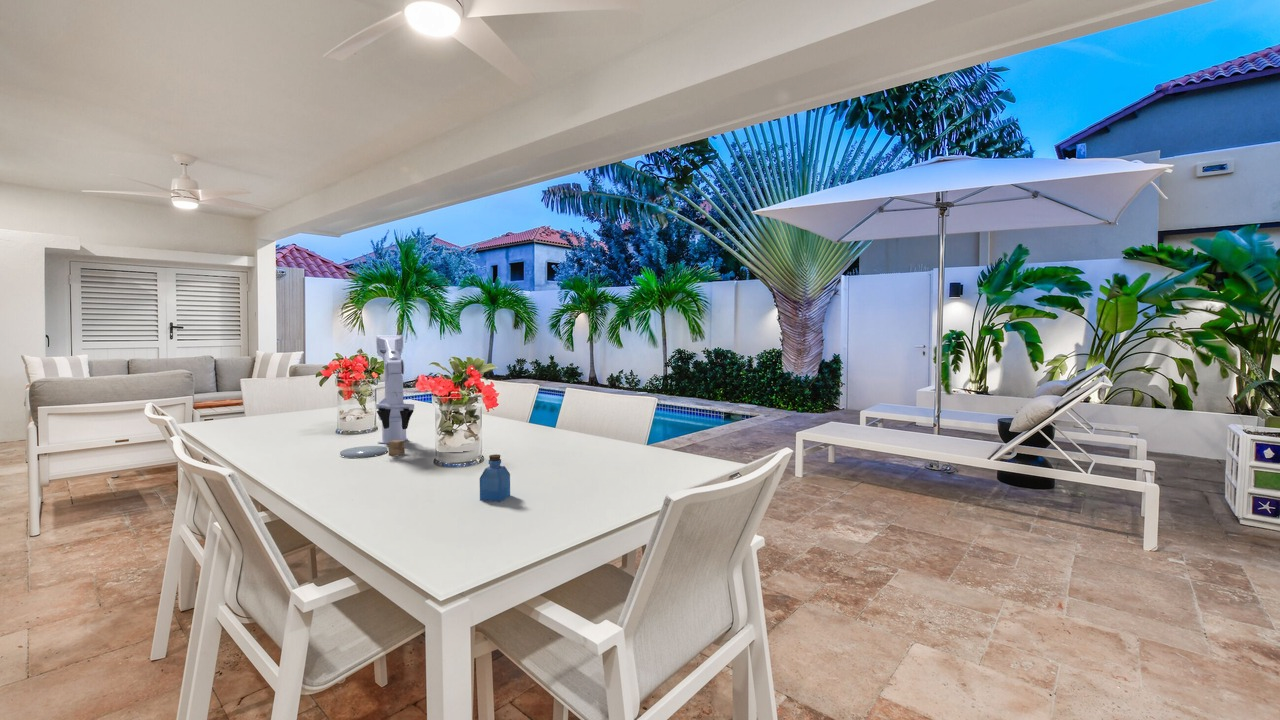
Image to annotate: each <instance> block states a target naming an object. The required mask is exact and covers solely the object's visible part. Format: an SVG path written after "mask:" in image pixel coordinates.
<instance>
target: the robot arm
mask: <svg viewBox="0 0 1280 720" xmlns="http://www.w3.org/2000/svg"><path fill="white" fill-rule="evenodd" d="M375 339H376V340H375V341H376V342H375V343H376V353H377V356H379V357H382V360H383V367H384V394H385V395H384V396H383V398H381V399H380V400H379V401H378V403H376V404H375V409H376V410H377V411H376V414H377V415H378V416H377V418H378V420H379V421H380V422H381V431H382V435H381V436H382V437H381V439H382V440H380V441H377V444H384V445H385V444H388V442H390V441H393V440H405V441H407V440H409V438H407V429H408V426H409V422H410V420H411V417H412V415H413V414H414V412H415V411H414V410H415V404H414V403H405V401H404V373H405V362H404V359H403V358H402V357H401V355H402V354H403V349H404V337H403V335H402V334H399V335H398V334H397V335H394V334H392V335H391V334H388V335H387V334H385V335H384V334H383V335H382V334H381V335H379V334H378V335H377V336H376V337H375Z"/></svg>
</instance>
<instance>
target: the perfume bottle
mask: <svg viewBox="0 0 1280 720" xmlns="http://www.w3.org/2000/svg"><path fill="white" fill-rule="evenodd" d="M488 457H489V459H488V465H489V466H488V467H485V469H484V470H483V472H482V474H481V475H480V476H479V501H481V500H483V501H484V502H495V501H497V502H499V503H501V502H503V501H504V500H505V498H506V499H507V498H509V497H510V496H511V473H510V472H509V470H508V469H507V467H506V466H505V465H501V464H502V459H501V454H496V453H495V454H490V455H489V456H488ZM497 502H496V503H497Z"/></svg>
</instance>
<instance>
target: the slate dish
mask: <svg viewBox="0 0 1280 720" xmlns="http://www.w3.org/2000/svg"><path fill="white" fill-rule="evenodd" d="M385 452H386V453H388V447H386V446H383V445H382V446H381V445H363V446H356V447H355V446H354V447H350V448H346V449H343V450H341V451H340V452H339V456H340V455H341V456H344V457H366V458H369V457H368V456H373V457H376V456H375V455H378V456H381V455H380V454H382V455H384V454H383V453H385ZM386 453H385V454H386ZM341 456H340V457H341ZM344 457H343V458H344Z"/></svg>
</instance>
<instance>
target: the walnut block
mask: <svg viewBox="0 0 1280 720" xmlns="http://www.w3.org/2000/svg"><path fill="white" fill-rule="evenodd" d="M405 441H406V440H393V441H390V442H388V447H387V448H388V456H394V455H399V456H401V455H400V454H402V455H404V454H405V453H406V450H405V449H406V448H405V447H406V445H405V443H406V442H405ZM403 453H404V454H403Z"/></svg>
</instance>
